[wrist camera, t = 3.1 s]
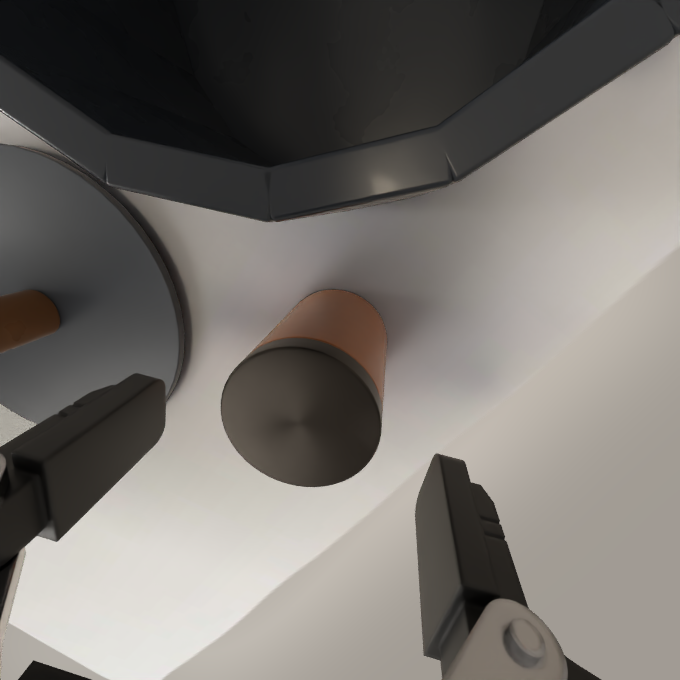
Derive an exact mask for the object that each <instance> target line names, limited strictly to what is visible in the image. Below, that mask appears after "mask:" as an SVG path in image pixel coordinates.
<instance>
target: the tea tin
mask: <svg viewBox="0 0 680 680" xmlns="http://www.w3.org/2000/svg"><path fill="white" fill-rule="evenodd" d="M386 350H387V333H386V329H385V326H384V323H383V320H382V319H381V317H380V315H379V313H378V312H377V311H376V309H375V308H374V307H373V306H372V305H371V304H370V303H369V302H367V301H366V300H365V299H363V298H361V297H360V296H358V295H356V294H353V293H351V292H347V291H343V290H323V291H319V292H316V293H313V294H311V295H309V296H307V297H306V298H304V299H303V300H302V301H300V302H299V303H298V304H297V305H296V306H295V307H294V308H293V309H292V311H291V312H290V313H289V314H288V315H287V316H286V317H285V318H284V319H283V320H282V321H281V322H280V323H279V324H278V325H277V326H276V327H275V328H274V329H273V330H272V331H271V332H270V333H269V334H268V335H267V336H266V337H265V338H264V339H263V340H262V341H261V342H260V343H259V344H258V346H257V347H256V348H255V349H254V350H253V351H252V352H251V353H250V354H249V355H248V356H247V357H246V358H245V359H244V360H243V361H242V362H241V363H240V364H239V365H238V366H237V367H236V368H235V369H234V371H233V372H232V373H231V375H230V376H229V378H228V380H227V382H226V384H225V386H224V389H223V393H222V399H221V416H222V421H223V425H224V428H225V431H226V433H227V435H228V438H229V439H230V441H231V443H232V444H233V446H234V447H235V449H236V450H237V451H238V453H239V454H240V455H241V456H242V457H243V458H244V459H245V460H246V461H247V462H248V463H249V464H251V465H252V466H253V467H254V468H256V469H257V470H259V471H260V472H262V473H264V474H265V475H267V476H269V477H271V478H273V479H276V480H278V481H281V482H284V483H287V484H291V485H296V486H304V487H321V486H328V485H333V484H336V483H339V482H342V481H345V480H347V479H349V478H351V477H352V476H354V475H355V474H357V473H358V472H360V471H361V470H362V469H363V468H364V467H365V466H366V465H367V464H368V462H369V461H370V460H371V459H372V457H373V455H374V454H375V452H376V450H377V447H378V445H379V441H380V437H381V427H382V411H383V396H384V380H385V365H386Z"/></svg>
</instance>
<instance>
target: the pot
mask: <svg viewBox="0 0 680 680" xmlns="http://www.w3.org/2000/svg"><path fill="white" fill-rule="evenodd" d="M678 35H680V0H0V112H2V113H3V114H5V115H6V116H8V117H9V118H11V119H12V120H14V121H15V122H16V123H18V124H19V125H21V126H22V127H24V128H25V129H27V130H28V131H30V132H31V133H32V134H34V135H35V136H37V137H38V138H40V139H41V140H43V141H44V142H46V143H47V144H48V145H50V146H51V147H53V148H54V149H56V150H57V151H59V152H60V153H62V154H63V155H65V156H66V157H67V158H69V159H70V160H72V161H73V162H75V163H76V164H78V165H79V166H81V167H82V168H83V169H85V170H86V171H88V172H89V173H91V174H92V175H94V176H95V177H97V178H98V179H99V180H101V181H102V182H104V183H107V185H109V186H111V187H114V188H118V189H123V190H127V191H131V192H136V193H140V194H145V195H149V196H153V197H158V198H162V199H167V200H171V201H175V202H180V203H184V204H189V205H193V206H197V207H202V208H206V209H211V210H215V211H219V212H224V213H228V214H233V215H237V216H241V217H246V218H250V219H255V220H259V221H263V222H273V221H275V222H280V221H287V220H293V219H299V218H305V217H312V216H318V215H324V214H330V213H337V212H343V211H349V210H354V209H359V208H364V207H369V206H373V205H378V204H383V203H388V202H393V201H398V200H402V199H407V198H412V197H416V196H419V195H422V194H425V193H429V192H432V191H435V190H438V189H441V188H444V187H447V186H449V185H450V184H453V183H456V182H459V181H461V180H462V179H464V178H466V177H467V176H469V175H470V174H472V173H473V172H475V171H476V170H478V169H479V168H481V167H482V166H484V165H485V164H487V163H488V162H490V161H491V160H493V159H494V158H496V157H497V156H499V155H501V154H502V153H504V152H505V151H507V150H508V149H510V148H511V147H513V146H514V145H516V144H517V143H519V142H520V141H522V140H523V139H525V138H526V137H528V136H529V135H531V134H532V133H534V132H535V131H537V130H539V129H540V128H542V127H543V126H545V125H546V124H548V123H549V122H551V121H552V120H554V119H555V118H557V117H558V116H560V115H561V114H563V113H564V112H566V111H567V110H569V109H570V108H572V107H574V106H575V105H577V104H578V103H580V102H581V101H583V100H584V99H586V98H587V97H589V96H590V95H592V94H593V93H595V92H596V91H598V90H599V89H601V88H602V87H604V86H605V85H607V84H609V83H610V82H612V81H613V80H615V79H616V78H618V77H619V76H621V75H622V74H624V73H625V72H627V71H628V70H630V69H631V68H633V67H634V66H636V65H637V64H639V63H640V62H642V61H643V60H645V59H647V58H648V57H650V56H651V55H653V54H654V53H656V52H657V51H659V50H660V49H662V48H663V47H665V46H666V45H668V44H669V43H670V42H671V40H672V39H673V38H675V37H676V36H678Z"/></svg>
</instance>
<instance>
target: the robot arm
mask: <svg viewBox="0 0 680 680" xmlns="http://www.w3.org/2000/svg"><path fill="white" fill-rule="evenodd" d="M165 409H166V385H165V382H164V381H163V380H162V379H158V378H154V377H150V376H147V375H143V374H139V373H135V374H132V375H131V376H129V377H127V378H126V379H124V380H123V381H121V382H120V383H118V384H117V385H110V386H107V387H104V388H101V389H98V390H95V391H92V392H90V393H88V394H87V395H85V396H83V397H82V398H80V399H78V400H77V401H75V402H73V405H69V406H67V407H65V408H64V409H62V410H60V411H59V412H58V414H54V415H52V416H51V417H49V418H47V419H46V420H44V421H42V422H41V423H39V424H37V425H36V426H34V427H32V428H31V429H29V430H28V431H26V432H24V433H23V434H21V435H19V436H18V437H16V438H14V439H13V440H11V441H9V442H8V443H6V444H5V445H3V446H1V447H0V680H1V670H2V664H1V657H2V647H3V641H4V637H5V633H6V629H7V625H8V621H9V618H10V614H11V610H12V606H13V602H14V598H15V594H16V590H17V587H18V583H19V579H20V575H21V571H22V567H23V563H24V560H25V555H26V550H25V546H26V545H27V544H28V543H29V542H30V541H31V540H33V539H34V538H35V537H36V536H40V537H43V538H46V539H50V540H53V541H56V542H57V541H58V540H59V539H60V538H61V537H63V536H64V535H65V534H66V533H67V532H68V531H69V530H70V529H71V528H72V527H73V526H74V525H75V524H76V523H77V522H78V521H79V520H80V519H81V518H82V517H83V516H84V515H85V514H86V513H87V512H88V511H89V510H90V509H91V508H92V507H93V506H94V505H95V504H96V503H97V502H98V501H99V500H100V499H101V498H102V497H103V496H104V495H105V494H106V493H107V492H108V491H109V490H110V489H111V488H112V487H113V486H114V485H115V484H116V483H117V482H118V481H119V480H120V479H121V478H122V477H123V476H124V475H125V474H126V473H127V472H128V471H129V470H130V469H131V468H132V467H133V466H134V465H135V464H136V463H137V462H138V461H139V460H140V459H141V458H142V457H143V456H144V455H145V454H146V453H147V452H148V451H149V450H150V449H151V448H152V447H153V446H154V445H155V444H156V443H157V442H158V441H159V439H160V437H161V436H162V433H163V431H164V428H165ZM415 512H416V513H415V521H416V537H417V553H418V570H419V586H420V601H421V617H422V634H423V651H424V656H427V657H431V658H434V659H437V660H440V661H441V670H442V680H601V679H599V678H598V677H596V676H595V675H593V674H591V673H590V672H588V671H587V670H585V669H583V668H582V667H580V666H579V665H577V664H576V663H574V662H573V661H571V660H570V659H568V658H567V657H566V656H565V655H564V654H563V651H562V649H561V647H560V645H559V643H558V641H557V639H556V638H555V636H554V635H553V633H552V632H551V630H550V629H549V628H548V627H547V626H546V624H545V623H544V622H543V621H542V620H541V619H540V618H539V617H538V616H537V615H536V614H535V613H533V612H532V611H531V610H530V609H529V608H528V606H527V603H526V600H525V597H524V593H523V591H522V588H521V585H520V582H519V578H518V575H517V572H516V569H515V566H514V563H513V560H512V557H511V554H510V551H509V548H508V545H507V542H506V541H505V540H504V538H505V536H504V533H503V530H502V527H501V525H500V524H499V521H500V520H499V518H498V514H497V512H496V508H495V505H494V502H493V501H492V500H491V499H490V497H489V496H488V494H487V493H486V492H485V490H484V489H483V487H482V486H481V485H479V484H475V483H471V482H470V479H469V475H468V471H467V467H466V464H465V462H464V461H463V460H460V459H456V458H452V457H448V456H444V455H440V454H435V455H434V457H433V459H432V461H431V464H430V467H429V469H428V472H427V474H426V476H425V479H424V481H423V484H422V487H421V489H420V492H419V495H418V498H417V503H416V511H415ZM18 680H91V679H88V678H85V677H82V676H79V675H76V674H73V673H70V672H67V671H64V670H61V669H57V668H55V667H52V666H49V665H46V664H43V663H39V662H36V661H33V662H32V663H31V664H30V665H29V667H28V668H27V669H26V670H25V672H24V673H23V674H22V675H21V677H20V678H19V679H18Z"/></svg>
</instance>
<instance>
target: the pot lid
mask: <svg viewBox="0 0 680 680" xmlns="http://www.w3.org/2000/svg"><path fill="white" fill-rule="evenodd" d="M184 346H185V341H184V324H183V319H182V313H181V307H180V304H179V300H178V297H177V294H176V290H175V287H174V285H173V282H172V280H171V278H170V275H169V273H168V270H167V268H166V266H165V264H164V262H163V261H162V259H161V257H160V255H159V253H158V252H157V250H156V248H155V246H154V245H153V243H152V242H151V240H150V239H149V237H148V236H147V235H146V233H145V232H144V230H143V229H142V227H141V226H140V225H139V224H138V223H137V221H136V220H135V219H134V218H133V217H132V216H131V214H130V213H129V212H128V211H127V210H126V209H125V207H123V206H122V205H121V204H120V203H119V202H118V201H117V200H116V199H115V198H114V197H113V196H112V195H111V194H110V193H109V192H108V191H107V190H105V189H104V188H103V187H101V186H100V185H99V184H97V183H96V182H95V181H94V180H92V179H91V178H90V177H88V176H87V175H85V174H84V173H82V172H80V171H79V170H77V169H75V168H74V167H72V166H71V165H69V164H67V163H65V162H63V161H61V160H59V159H56V158H54V157H52V156H50V155H48V154H45V153H42V152H39V151H36V150H32V149H29V148H26V147H21V146H14V145H7V144H0V404H2V405H3V406H5V407H6V408H8V409H9V410H11V411H13V412H14V413H16V414H18V415H20V416H22V417H24V418H25V419H27V420H30V421H32V422H34V423H37V424H39V423H41V422H42V421H44V420H46V419H47V418H49V417H51V416H52V415H54V414H58V412H59V411H60V410H62V409H64V408H65V407H67V406H69V405H73V402H75V401H77V400H78V399H80V398H82V397H83V396H85V395H87V394H88V393H90V392H92V391H95V390H98V389H101V388H104V387H107V386H110V385H117V384H118V383H120V382H121V381H123V380H124V379H126V378H127V377H129V376H131V375H132V374H135V373H139V374H143V375H147V376H150V377H154V378H158V379H162V380H163V381H164V382H165V385H166V401H167V399H168V398H169V396H170V395H171V393H172V392H173V390H174V388H175V385H176V383H177V381H178V378H179V376H180V372H181V368H182V364H183V357H184Z"/></svg>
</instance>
